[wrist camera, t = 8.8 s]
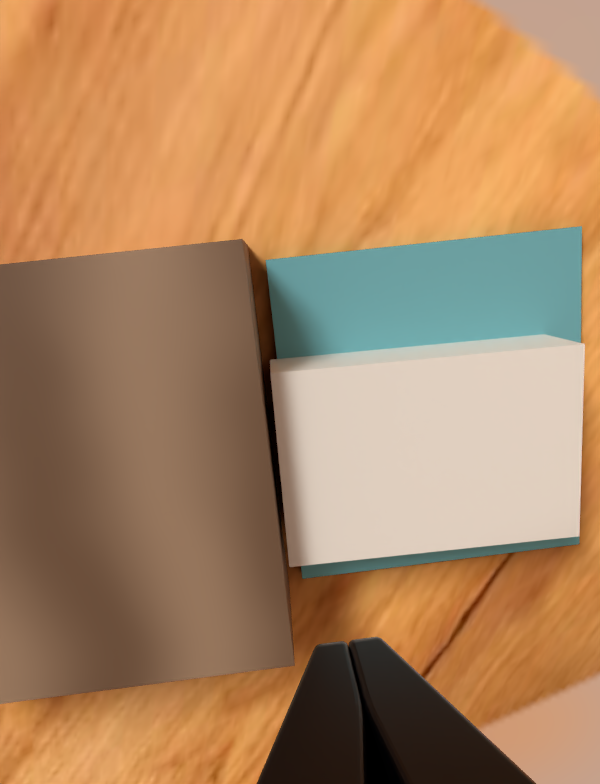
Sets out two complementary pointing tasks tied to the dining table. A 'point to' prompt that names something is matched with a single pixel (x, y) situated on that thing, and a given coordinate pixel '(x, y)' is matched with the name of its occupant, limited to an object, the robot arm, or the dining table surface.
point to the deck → (136, 474)
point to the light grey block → (429, 447)
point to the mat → (428, 315)
